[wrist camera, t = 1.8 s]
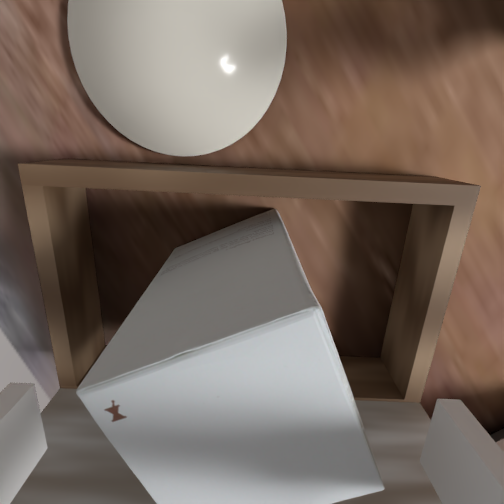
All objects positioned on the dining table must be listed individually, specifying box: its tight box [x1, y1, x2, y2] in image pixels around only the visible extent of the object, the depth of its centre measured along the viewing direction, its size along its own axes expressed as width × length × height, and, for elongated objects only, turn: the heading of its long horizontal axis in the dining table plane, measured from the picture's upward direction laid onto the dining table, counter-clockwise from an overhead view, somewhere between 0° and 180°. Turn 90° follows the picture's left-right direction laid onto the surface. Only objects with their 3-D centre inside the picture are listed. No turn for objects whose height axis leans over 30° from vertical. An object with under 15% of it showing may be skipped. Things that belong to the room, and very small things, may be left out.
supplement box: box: [76, 209, 384, 504], centre depth 15 cm, size 7×7×13 cm
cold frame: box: [10, 159, 481, 504], centre depth 12 cm, size 14×22×19 cm, turn 87°
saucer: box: [67, 0, 287, 156], centre depth 17 cm, size 11×11×1 cm
